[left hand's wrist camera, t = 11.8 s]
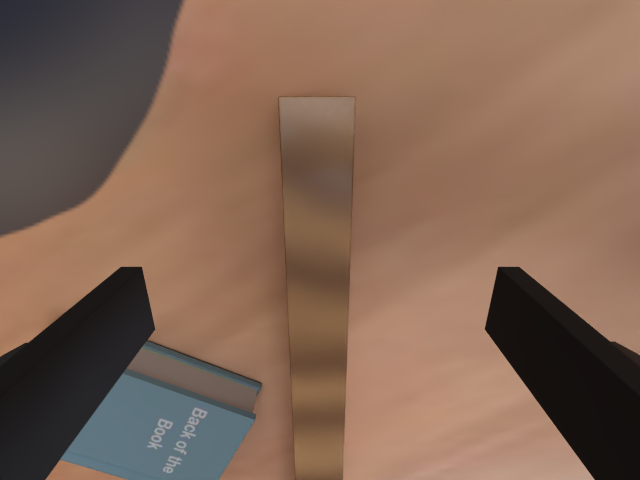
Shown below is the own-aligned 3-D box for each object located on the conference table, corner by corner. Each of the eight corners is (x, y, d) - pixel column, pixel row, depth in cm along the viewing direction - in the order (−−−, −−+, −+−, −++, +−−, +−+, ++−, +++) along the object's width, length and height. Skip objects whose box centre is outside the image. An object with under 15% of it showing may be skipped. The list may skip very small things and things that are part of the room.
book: (261, 383, 41) (255, 419, 36) (213, 466, 46) (202, 506, 42) (67, 311, 37) (32, 341, 32) (38, 410, 42) (4, 449, 37)
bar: (287, 97, 29) (278, 96, 22) (345, 97, 29) (355, 96, 22) (304, 585, 58) (303, 655, 51) (334, 584, 58) (336, 655, 51)
